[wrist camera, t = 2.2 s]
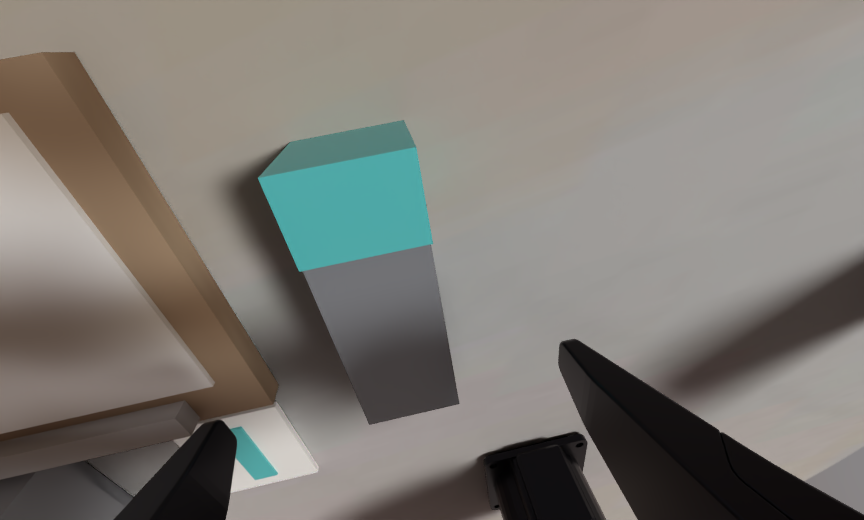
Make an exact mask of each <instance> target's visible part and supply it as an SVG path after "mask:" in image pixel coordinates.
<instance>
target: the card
mask: <svg viewBox="0 0 864 520" xmlns="http://www.w3.org/2000/svg"><path fill="white" fill-rule="evenodd" d="M214 420H222V421H224V422H225V424H226V425H227V426H228V427H229V429H230V430H231V431H232V432H233V433H234V435H235V436H236V439H237V451H236V458H235V465H234V472H233V479H232V485H231V492H230V493H232V492H236V491H241V490H245V489H249V488H253V487H257V486H262V485H266V484H270V483H274V482H278V481H283V480H287V479H291V478H295V477H299V476H304V475H308V474H312V473H316V472H318V468H319V466H318V465H317V463H316V462H315V460H314V459H313V457H312V455H311V454H310V452H309V451H308V449H307V448H306V446H305V445H304V443H303V442H302V440H301V438H300V437H299V435H298V434H297V432H296V431H295V429H294V428H293V426H292V424H291V423H290V421H289V420H288V418H287V417H286V415H285V414H284V412H283V411H282V409H281V407H280V406H279V404H278V403H277V401H275V402H274V404H273V405H269V406H264V407H260V408H256V409H251V410H247V411H242V412H238V413H234V414H229V415H225V416H220V417H216V418H212V419H207V420H203V421H198V423H197V426H196V428H195V430H194V432H195V431H196V430H197V429H198V428H199V427H200V426H201V425H202V424H203V423H206V422H209V421H214ZM194 432H193V433H194ZM189 437H190V436H189ZM189 437H185V438H180V439H176V440H173V441H174V442H175V443H176V444H177V445H178V446H179V447H181V446H182V445H183V444H184V443H185V442H186V441H187V440H188V438H189Z"/></svg>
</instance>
